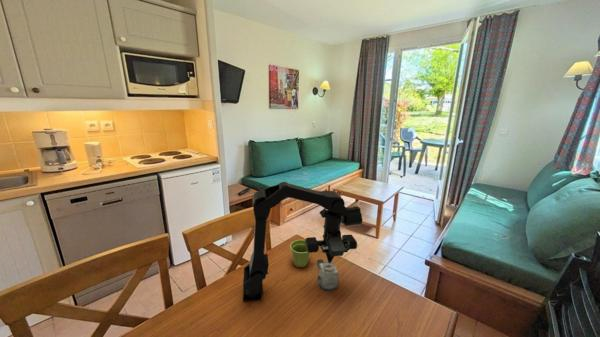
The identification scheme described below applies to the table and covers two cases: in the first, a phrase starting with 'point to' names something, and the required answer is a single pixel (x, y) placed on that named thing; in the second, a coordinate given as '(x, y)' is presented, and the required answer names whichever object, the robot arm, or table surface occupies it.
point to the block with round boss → (328, 273)
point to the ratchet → (327, 287)
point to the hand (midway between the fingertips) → (329, 262)
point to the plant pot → (299, 253)
